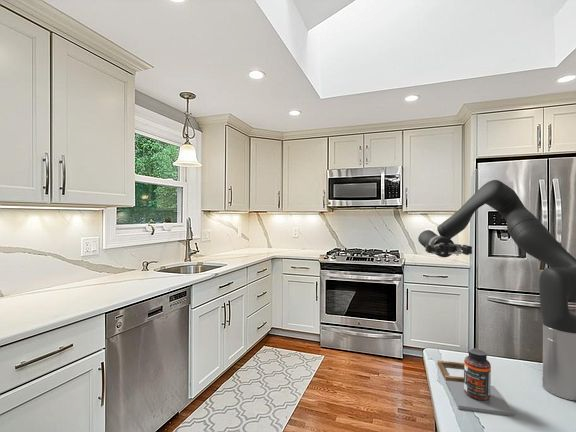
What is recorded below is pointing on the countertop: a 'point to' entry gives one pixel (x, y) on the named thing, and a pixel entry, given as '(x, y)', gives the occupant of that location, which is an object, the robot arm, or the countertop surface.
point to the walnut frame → (450, 364)
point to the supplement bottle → (477, 375)
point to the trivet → (489, 406)
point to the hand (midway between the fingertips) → (453, 251)
